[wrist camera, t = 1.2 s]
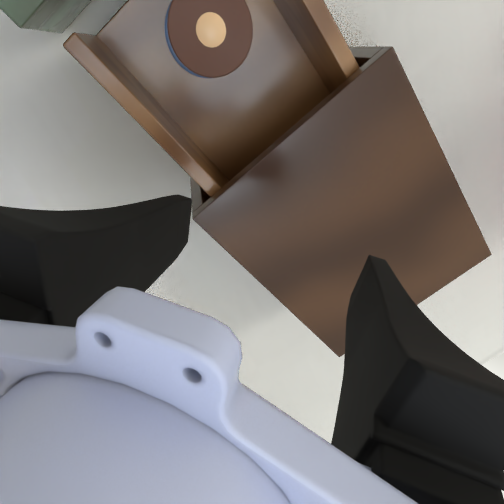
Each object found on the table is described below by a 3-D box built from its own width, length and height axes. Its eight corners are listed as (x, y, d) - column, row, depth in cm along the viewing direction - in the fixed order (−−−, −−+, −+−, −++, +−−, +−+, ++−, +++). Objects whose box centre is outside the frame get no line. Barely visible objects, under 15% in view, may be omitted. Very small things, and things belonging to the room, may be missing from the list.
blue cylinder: (155, 31, 19) (139, 20, 12) (201, -18, 18) (214, -60, 11) (199, 84, 21) (208, 104, 13) (243, 42, 20) (278, 38, 13)
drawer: (-47, -80, 16) (-146, -134, 11) (121, -308, 14) (88, -500, 9) (223, 201, 26) (232, 237, 21) (351, 91, 23) (397, 102, 18)
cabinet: (189, 175, 25) (192, 219, 19) (332, 46, 23) (393, 45, 16) (308, 296, 33) (339, 357, 26) (425, 210, 30) (492, 254, 24)
